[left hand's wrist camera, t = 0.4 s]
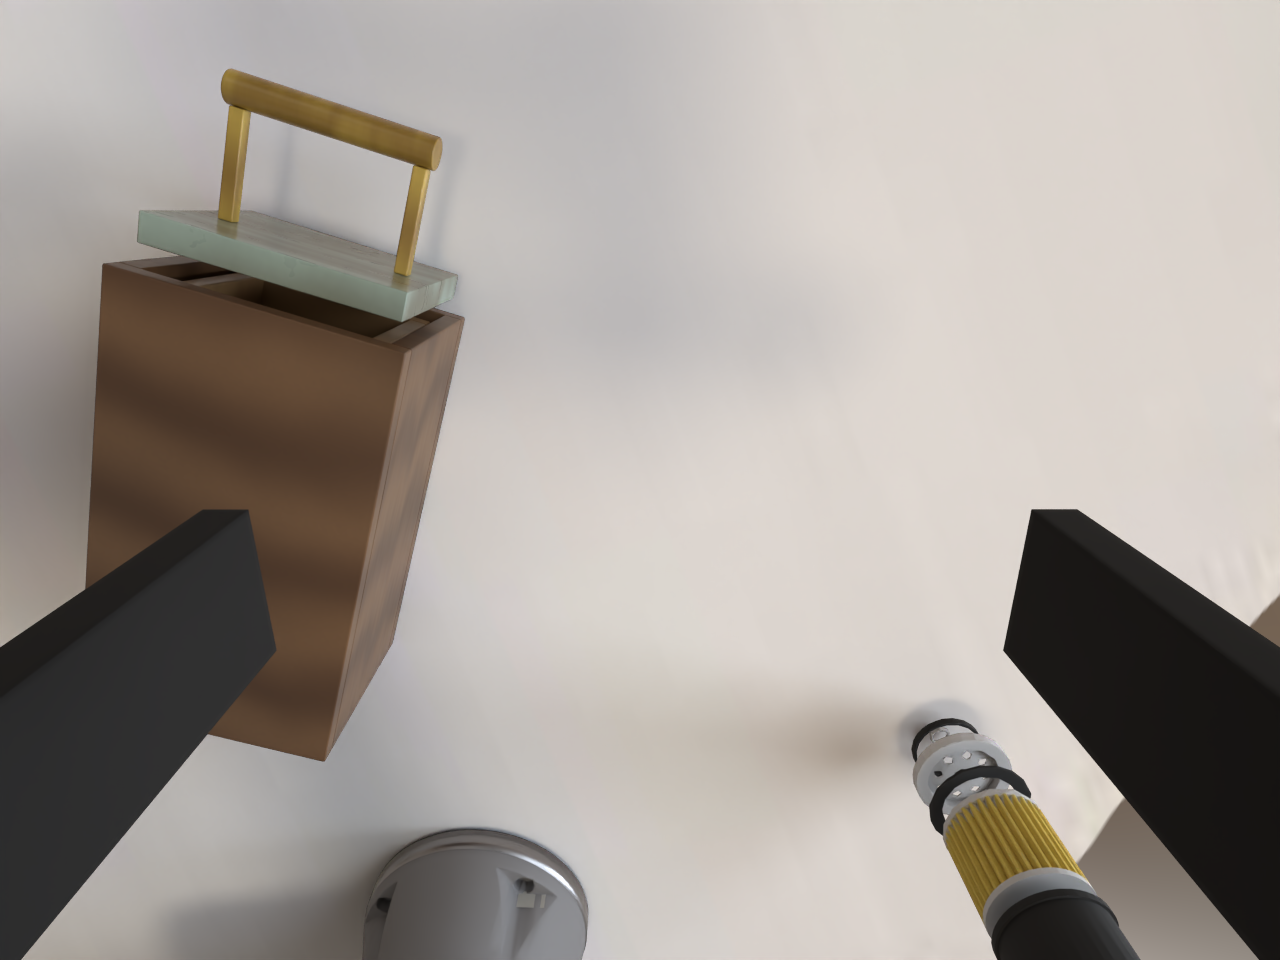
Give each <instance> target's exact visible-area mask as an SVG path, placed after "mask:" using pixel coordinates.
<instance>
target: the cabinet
mask: <svg viewBox="0 0 1280 960" xmlns="http://www.w3.org/2000/svg"><path fill="white" fill-rule="evenodd" d="M234 273H237V272H234V271H230V270H227V269H224V268H221V267H217V266H214V265H211V264H207V263H204V262H201V261H197V260H194V259H191V258H187V257H184V256H176V257H165V258H155V259H144V260H134V261H123V262H114V263H104V264H103V267H102V286H101V304H100V323H99V342H98V361H97V380H96V399H95V417H94V436H93V455H92V474H91V493H90V512H89V531H88V549H87V568H86V587H85V589H87V588H88V587H90V586H91V585H93V584H94V583H95V582H97V581H98V580H100V579H101V578H103V577H104V576H106V575H107V574H109V573H110V572H112V571H113V570H115V569H116V568H118V567H119V566H120V565H122V564H123V563H125V562H126V561H128V560H129V559H131V558H132V557H134V556H135V555H137V554H138V553H140V552H141V551H142V550H144V549H145V548H147V547H148V546H150V545H151V544H153V543H154V542H156V541H157V540H159V539H160V538H162V537H163V536H164V535H166V534H167V533H169V532H170V531H172V530H173V529H175V528H176V527H178V526H179V525H181V524H182V523H184V522H185V521H186V520H188V519H189V518H191V517H192V516H194V515H195V514H197V513H198V512H200V511H201V510H203V509H248V510H249V515H250V520H251V525H252V530H253V535H254V540H255V545H256V550H257V555H258V560H259V565H260V570H261V575H262V580H263V585H264V590H265V595H266V600H267V605H268V610H269V615H270V620H271V625H272V629H273V634H274V639H275V644H276V649H277V651H276V652H275V653H274V654H273V656H272V657H271V658H270V659H269V660H268V662H267V663H266V664H265V665H264V667H263V668H262V669H261V670H260V671H259V673H258V674H257V675H256V676H255V677H254V679H253V680H252V681H251V682H250V683H249V685H248V686H247V687H246V688H245V689H244V691H243V692H242V693H241V694H240V696H239V697H238V698H237V699H236V700H235V702H234V703H233V704H232V705H231V706H230V708H229V709H228V710H227V711H226V712H225V714H224V715H223V716H222V717H221V718H220V720H219V721H218V722H217V723H216V725H215V726H214V727H213V728H212V729H211V731H210V732H209V733H208V734H209V735H213V736H218V737H222V738H226V739H230V740H235V741H239V742H243V743H247V744H251V745H256V746H260V747H264V748H268V749H272V750H277V751H281V752H285V753H289V754H293V755H298V756H302V757H306V758H310V759H314V760H319V761H325V760H326V758H327V756H328V755H329V753H330V751H331V749H332V748H333V746H334V744H335V742H336V741H337V739H338V737H339V735H340V734H341V732H342V730H343V728H344V727H345V725H346V723H347V721H348V720H349V718H350V716H351V715H352V713H353V711H354V709H355V708H356V706H357V704H358V702H359V701H360V699H361V697H362V695H363V694H364V692H365V690H366V688H367V687H368V685H369V683H370V681H371V680H372V678H373V676H374V674H375V673H376V671H377V669H378V667H379V666H380V664H381V662H382V660H383V659H384V657H385V655H386V654H387V652H388V650H389V648H390V646H391V645H392V643H393V639H394V634H395V630H396V625H397V621H398V616H399V612H400V607H401V603H402V598H403V594H404V589H405V585H406V580H407V576H408V571H409V567H410V562H411V558H412V553H413V549H414V544H415V540H416V535H417V531H418V526H419V522H420V517H421V513H422V508H423V504H424V499H425V495H426V491H427V486H428V482H429V477H430V473H431V468H432V464H433V459H434V455H435V450H436V446H437V441H438V437H439V432H440V428H441V423H442V419H443V414H444V410H445V405H446V401H447V396H448V392H449V387H450V383H451V378H452V374H453V369H454V365H455V360H456V356H457V351H458V347H459V343H460V338H461V334H462V329H463V325H464V320H465V319H464V317H461V316H458V315H454V314H451V313H448V312H445V311H441V310H438V309H435V308H431V309H429V310H427V311H425V312H423V313H421V314H419V315H416V316H414V317H416V318H419V319H422V320H426V321H429V322H430V324H428V325H426V326H424V327H422V328H420V329H418V330H416V331H414V332H413V333H411V334H409V335H407V336H405V337H403V338H401V339H399V340H397V341H396V342H394V343H392V344H390V343H387V342H384V341H380V340H377V339H374V338H370V337H367V336H364V335H360V334H357V333H353V332H350V331H347V330H343V329H340V328H337V327H333V326H330V325H327V324H323V323H320V322H317V321H313V320H310V319H307V318H303V317H300V316H297V315H293V314H290V313H287V312H283V311H280V310H277V309H273V308H270V307H267V306H263V305H260V304H257V303H253V302H250V301H246V300H243V299H240V298H236V297H233V296H230V295H226V294H223V293H220V292H216V291H213V290H210V289H206V288H203V287H200V286H196V285H193V284H190V283H186V282H183V281H187V280H194V279H201V278H207V277H214V276H220V275H227V274H234Z"/></svg>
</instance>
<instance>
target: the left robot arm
mask: <svg viewBox="0 0 1280 960" xmlns="http://www.w3.org/2000/svg"><path fill="white" fill-rule="evenodd" d="M276 651H277V649H276V644H275V639H274V634H273V629H272V625H271V620H270V615H269V610H268V605H267V600H266V595H265V590H264V585H263V580H262V575H261V570H260V565H259V560H258V555H257V550H256V545H255V540H254V535H253V530H252V525H251V520H250V515H249V510H248V509H203V510H201V511H200V512H198V513H197V514H195V515H194V516H192V517H191V518H189V519H188V520H186V521H185V522H184V523H182V524H181V525H179V526H178V527H176V528H175V529H173V530H172V531H170V532H169V533H167V534H166V535H164V536H163V537H162V538H160V539H159V540H157V541H156V542H154V543H153V544H151V545H150V546H148V547H147V548H145V549H144V550H142V551H141V552H140V553H138V554H137V555H135V556H134V557H132V558H131V559H129V560H128V561H126V562H125V563H123V564H122V565H120V566H119V567H118V568H116V569H115V570H113V571H112V572H110V573H109V574H107V575H106V576H104V577H103V578H101V579H100V580H98V581H97V582H95V583H94V584H93V585H91V586H90V587H88V588H87V589H85V590H84V591H82V592H81V593H79V594H78V595H76V596H75V597H73V598H72V599H71V600H69V601H68V602H66V603H65V604H63V605H62V606H60V607H59V608H57V609H56V610H54V611H53V612H51V613H50V614H49V615H47V616H46V617H44V618H43V619H41V620H40V621H38V622H37V623H35V624H34V625H32V626H31V627H29V628H28V629H27V630H25V631H24V632H22V633H21V634H19V635H18V636H16V637H15V638H13V639H12V640H10V641H9V642H7V643H6V644H5V645H3V646H2V647H0V960H21V959H22V958H23V957H24V955H25V954H26V953H27V952H28V951H29V949H30V948H31V947H32V946H33V945H34V943H35V942H36V941H37V940H38V938H39V937H40V936H41V935H42V934H43V932H44V931H45V930H46V929H47V928H48V926H49V925H50V924H51V923H52V922H53V920H54V919H55V918H56V917H57V916H58V914H59V913H60V912H61V911H62V909H63V908H64V907H65V906H66V905H67V903H68V902H69V901H70V900H71V899H72V897H73V896H74V895H75V894H76V893H77V891H78V890H79V889H80V888H81V887H82V885H83V884H84V883H85V882H86V880H87V879H88V878H89V877H90V876H91V874H92V873H93V872H94V871H95V870H96V868H97V867H98V866H99V865H100V864H101V862H102V861H103V860H104V859H105V857H106V856H107V855H108V854H109V853H110V851H111V850H112V849H113V848H114V847H115V845H116V844H117V843H118V842H119V841H120V839H121V838H122V837H123V836H124V835H125V833H126V832H127V831H128V830H129V828H130V827H131V826H132V825H133V824H134V822H135V821H136V820H137V819H138V818H139V816H140V815H141V814H142V813H143V812H144V810H145V809H146V808H147V807H148V806H149V804H150V803H151V802H152V801H153V799H154V798H155V797H156V796H157V795H158V793H159V792H160V791H161V790H162V789H163V787H164V786H165V785H166V784H167V783H168V781H169V780H170V779H171V778H172V777H173V775H174V774H175V773H176V772H177V770H178V769H179V768H180V767H181V766H182V764H183V763H184V762H185V761H186V760H187V758H188V757H189V756H190V755H191V754H192V752H193V751H194V750H195V749H196V747H197V746H198V745H199V744H200V743H201V741H202V740H203V739H204V738H205V737H206V735H207V734H208V733H209V732H210V731H211V729H212V728H213V727H214V726H215V725H216V723H217V722H218V721H219V720H220V718H221V717H222V716H223V715H224V714H225V712H226V711H227V710H228V709H229V708H230V706H231V705H232V704H233V703H234V702H235V700H236V699H237V698H238V697H239V696H240V694H241V693H242V692H243V691H244V689H245V688H246V687H247V686H248V685H249V683H250V682H251V681H252V680H253V679H254V677H255V676H256V675H257V674H258V673H259V671H260V670H261V669H262V668H263V667H264V665H265V664H266V663H267V662H268V660H269V659H270V658H271V657H272V656H273V654H274V653H275V652H276ZM1003 651H1004V652H1005V653H1006V654H1007V656H1008V657H1009V658H1010V659H1011V660H1012V662H1013V663H1014V664H1015V665H1016V667H1017V668H1018V669H1019V670H1020V671H1021V673H1022V674H1023V675H1024V676H1025V677H1026V679H1027V680H1028V681H1029V682H1030V683H1031V685H1032V686H1033V687H1034V688H1035V689H1036V691H1037V692H1038V693H1039V694H1040V696H1041V697H1042V698H1043V699H1044V700H1045V702H1046V703H1047V704H1048V705H1049V706H1050V708H1051V709H1052V710H1053V711H1054V712H1055V714H1056V715H1057V716H1058V717H1059V718H1060V720H1061V721H1062V722H1063V723H1064V725H1065V726H1066V727H1067V728H1068V729H1069V731H1070V732H1071V733H1072V734H1073V735H1074V737H1075V738H1076V739H1077V740H1078V741H1079V743H1080V744H1081V745H1082V746H1083V747H1084V749H1085V750H1086V751H1087V752H1088V754H1089V755H1090V756H1091V757H1092V758H1093V760H1094V761H1095V762H1096V763H1097V764H1098V766H1099V767H1100V768H1101V769H1102V770H1103V772H1104V773H1105V774H1106V775H1107V777H1108V778H1109V779H1110V780H1111V781H1112V783H1113V784H1114V785H1115V786H1116V787H1117V789H1118V790H1119V791H1120V792H1121V793H1122V795H1123V796H1124V797H1125V798H1126V799H1127V801H1128V802H1129V803H1130V804H1131V806H1132V807H1133V808H1134V809H1135V810H1136V812H1137V813H1138V814H1139V815H1140V816H1141V818H1142V819H1143V820H1144V821H1145V822H1146V824H1147V825H1148V826H1149V827H1150V828H1151V830H1152V831H1153V832H1154V833H1155V835H1156V836H1157V837H1158V838H1159V839H1160V840H1161V842H1162V843H1163V844H1164V845H1165V847H1166V848H1167V849H1168V850H1169V851H1170V853H1171V854H1172V855H1173V856H1174V857H1175V859H1176V860H1177V861H1178V862H1179V864H1180V865H1181V866H1182V867H1183V868H1184V870H1185V871H1186V872H1187V873H1188V874H1189V876H1190V877H1191V878H1192V879H1193V880H1194V882H1195V883H1196V884H1197V885H1198V887H1199V888H1200V889H1201V890H1202V891H1203V893H1204V894H1205V895H1206V896H1207V897H1208V899H1209V900H1210V901H1211V902H1212V903H1213V905H1214V906H1215V907H1216V908H1217V909H1218V911H1219V912H1220V913H1221V914H1222V915H1223V917H1224V918H1225V919H1226V920H1227V922H1228V923H1229V924H1230V925H1231V926H1232V927H1233V929H1234V930H1235V931H1236V932H1237V934H1238V935H1239V936H1240V937H1241V938H1242V940H1243V941H1244V942H1245V943H1246V945H1247V946H1248V947H1249V948H1250V949H1251V951H1252V952H1253V953H1254V954H1255V955H1256V957H1257V958H1258V959H1259V960H1280V647H1278V646H1277V645H1275V644H1274V643H1273V642H1271V641H1270V640H1268V639H1267V638H1265V637H1264V636H1262V635H1261V634H1259V633H1258V632H1256V631H1255V630H1253V629H1252V628H1251V627H1249V626H1248V625H1246V624H1245V623H1243V622H1242V621H1240V620H1239V619H1237V618H1236V617H1234V616H1233V615H1231V614H1230V613H1229V612H1227V611H1226V610H1224V609H1223V608H1221V607H1220V606H1218V605H1217V604H1215V603H1214V602H1212V601H1211V600H1209V599H1208V598H1207V597H1205V596H1204V595H1202V594H1201V593H1199V592H1198V591H1196V590H1195V589H1193V588H1192V587H1190V586H1189V585H1187V584H1186V583H1184V582H1183V581H1182V580H1180V579H1179V578H1177V577H1176V576H1174V575H1173V574H1171V573H1170V572H1168V571H1167V570H1165V569H1164V568H1162V567H1161V566H1160V565H1158V564H1157V563H1155V562H1154V561H1152V560H1151V559H1149V558H1148V557H1146V556H1145V555H1143V554H1142V553H1140V552H1139V551H1138V550H1136V549H1135V548H1133V547H1132V546H1130V545H1129V544H1127V543H1126V542H1124V541H1123V540H1121V539H1120V538H1118V537H1117V536H1116V535H1114V534H1113V533H1111V532H1110V531H1108V530H1107V529H1105V528H1104V527H1102V526H1101V525H1099V524H1098V523H1096V522H1095V521H1094V520H1092V519H1091V518H1089V517H1088V516H1086V515H1085V514H1083V513H1082V512H1080V511H1079V510H1077V509H1032V510H1031V515H1030V520H1029V525H1028V530H1027V535H1026V540H1025V545H1024V550H1023V555H1022V560H1021V565H1020V570H1019V575H1018V580H1017V585H1016V590H1015V595H1014V600H1013V605H1012V610H1011V615H1010V620H1009V625H1008V629H1007V634H1006V639H1005V644H1004V649H1003Z"/></svg>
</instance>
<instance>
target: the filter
mask: <svg viewBox="0 0 1280 960" xmlns="http://www.w3.org/2000/svg"><path fill="white" fill-rule="evenodd" d="M946 725H959V726H962V727H966V728H969V729H970V730H971V731H972V732H973V733H958V734H953V735H950V736H949V732H948V730H947V729H946V728H942V727H943V726H946ZM940 731H944V732H946V733H947V735H946V737H944V738H941V739H939V740H937V741H936V740H933V738H934V735H935V734H936V733H937V732H940ZM929 732H930V738H931V741H932V744H931V745H929V746H928V747H927V748H926V749H925V750H924V751H923V752H922V753H921V755H920V756H919V757H918V759H917V749H918V746H919V743H920V742H921V740H922V739H923V738H924V736H926V735H927V734H928V733H929ZM966 751H968V752H970V753H971V757H969V758H968V759H965V758H964V757H962V755H963V754H964V753H965V752H966ZM912 754H913V758H914V760H915V762H916V764H915V766H914V770H913V782H914V785H915V787H916V790H917V792H918V794H919V796H920V798H921V799H922V801H923V802H924V803H925V804H926V805H927V806H928V807H929V809H930V818H931V822H932V824H933V826H934V828H935V830H936V831H938V832H939V833H940V834H941V835H943V840H944V843H945V845H946V848H947V849H948V851H949V853H950V855H951V857H952V859H953V861H954V863H955V865H956V867H957V869H958V871H959V873H960V875H961V878H962V880H963V882H964V884H965V886H966V888H967V890H968V892H969V894H970V896H971V898H972V900H973V902H974V905H975V907H976V909H977V911H978V913H979V915H980V917H981V919H982V921H983V923H984V925H985V928H986V930H987V932H988V934H989V936H990V937H991V939H992V941H991V943H992V948H993V951H994V953H995V956H996V958H997V960H1140V958H1139V957H1138V955H1137V954H1136V952H1135V951H1134V949H1133V948H1132V946H1131V945H1130V943H1129V942H1128V940H1127V939H1126V937H1125V936H1124V934H1123V933H1122V931H1121V930H1120V928H1119V924H1118V921H1117V919H1116V917H1115V915H1114V913H1113V912H1112V911H1111V909H1110V908H1109V906H1108V905H1107V904H1106V903H1105V902H1104V901H1103V900H1102V899H1101V898H1099V897H1097V894H1096V892H1095V891H1094V889H1093V888H1092V886H1091V885H1090V883H1089V882H1088V880H1087V879H1086V877H1085V876H1084V874H1083V873H1082V871H1081V870H1080V868H1079V867H1078V865H1077V864H1076V862H1075V861H1074V859H1073V858H1072V857H1071V855H1070V854H1069V852H1068V851H1067V849H1066V848H1065V846H1064V845H1063V843H1062V842H1061V840H1060V839H1059V837H1058V836H1057V834H1056V833H1055V831H1054V830H1053V828H1052V827H1051V825H1050V824H1049V822H1048V821H1047V819H1046V818H1045V816H1044V815H1043V813H1042V812H1041V810H1040V809H1039V808H1038V806H1037V804H1036V803H1035V801H1034V800H1032V799H1030V798H1031V792H1030V791H1029V789H1028V787H1027V785H1026V783H1025V781H1024V780H1023V779H1022V778H1021V777H1020V776H1018V775H1017V774H1016V773H1014V772H1013V771H1012V766H1011V763H1010V760H1009V758H1008V757H1007V755H1006V754H1005V752H1004V751H1003V749H1002V748H1001V747H1000V746H999V745H998V744H997V743H996V742H995V741H994V740H992V739H990V738H988V737H986V736H984V735H980V734H978V732H977V731H976V729H975V728H974V727H973V726H972V725H971V724H969V723H967V722H965V721H964V720H959V719H954V718H949V719H941V720H938V721H935V722H933V723H930V724H928V725H927V726H925V727H924V728H922V730H921V731H920V732H919V733H918V734H917V735H916V737H915V739H914V741H913V745H912ZM945 757H952V758H953V759H952V763H944V758H945ZM985 758H986V762H985V764H983V765H979V760H980V759H985ZM982 777H983V778H984V779H983V778H982ZM1009 784H1010V785H1011V786H1012V787H1013V788H1014V790H1011V789H1008V787H1009ZM939 785H940V786H939ZM937 786H939V787H938V788H937ZM974 786H979V788H978V789H977V790H976V791H972V790H971V789H972V788H973V787H974ZM956 791H959V792H961V793H960V794H959V795H958V796H957V795H953V793H954V792H956ZM943 814H947V815H949V816H948V817H947V819H946V821H945V818H944V815H943Z"/></svg>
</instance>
